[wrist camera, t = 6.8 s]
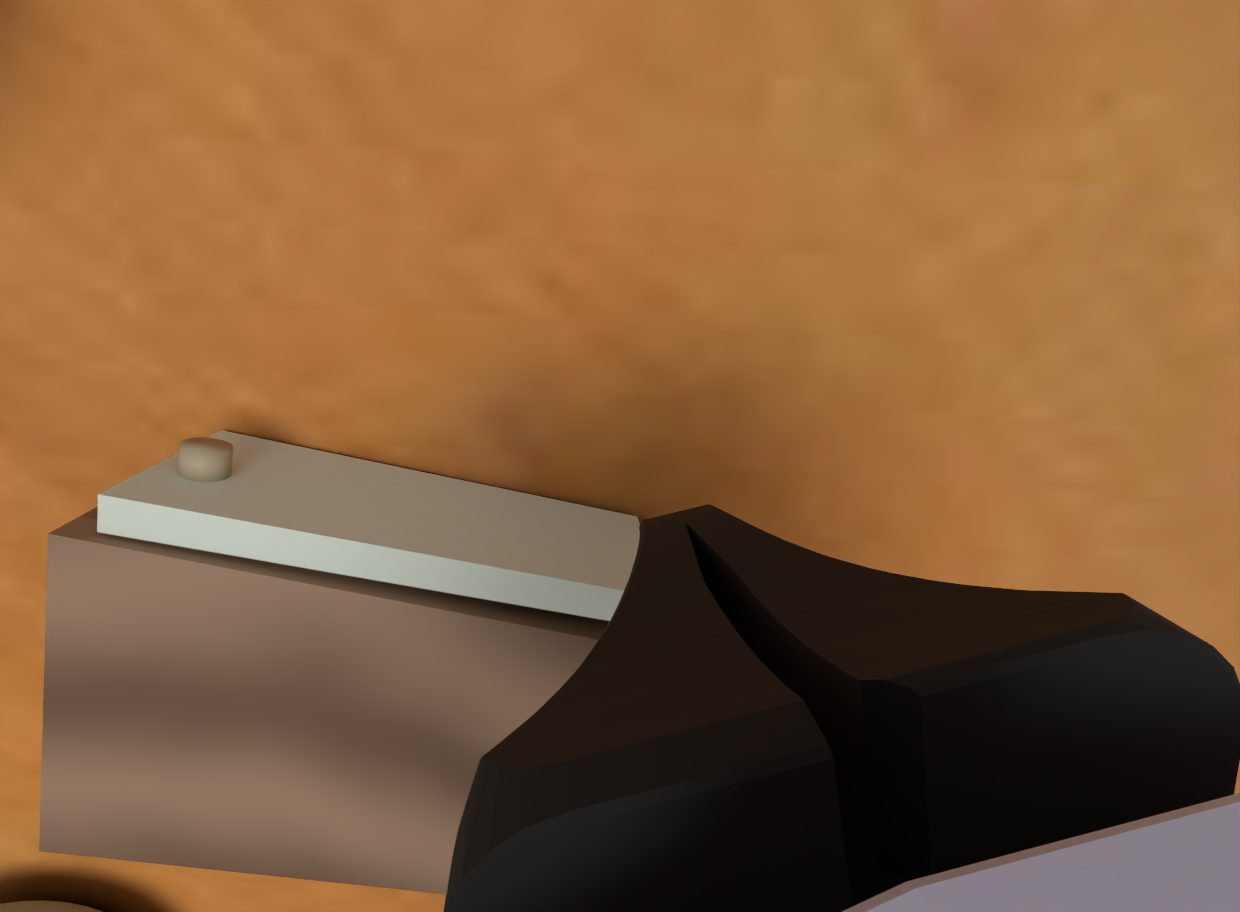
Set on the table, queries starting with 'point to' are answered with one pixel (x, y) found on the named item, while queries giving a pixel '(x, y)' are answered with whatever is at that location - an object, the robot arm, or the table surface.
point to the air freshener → (44, 907)
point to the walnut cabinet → (275, 710)
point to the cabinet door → (377, 524)
